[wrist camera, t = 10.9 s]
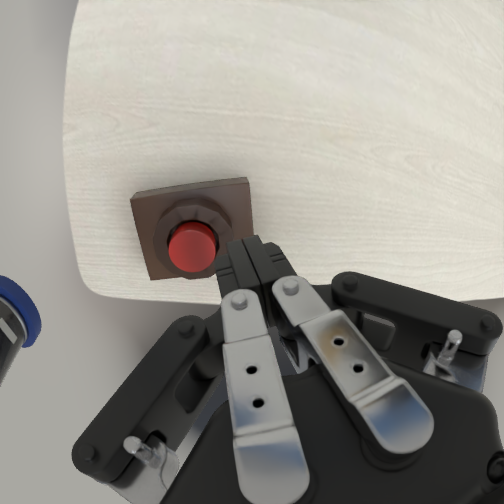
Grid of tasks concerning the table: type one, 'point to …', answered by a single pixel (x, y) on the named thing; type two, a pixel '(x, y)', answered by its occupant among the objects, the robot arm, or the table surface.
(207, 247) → the release button
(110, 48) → the table surface
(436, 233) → the table surface
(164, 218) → the block
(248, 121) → the table surface
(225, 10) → the table surface
